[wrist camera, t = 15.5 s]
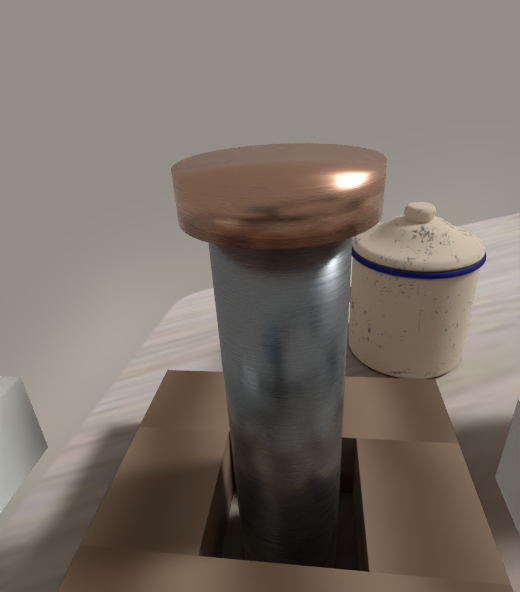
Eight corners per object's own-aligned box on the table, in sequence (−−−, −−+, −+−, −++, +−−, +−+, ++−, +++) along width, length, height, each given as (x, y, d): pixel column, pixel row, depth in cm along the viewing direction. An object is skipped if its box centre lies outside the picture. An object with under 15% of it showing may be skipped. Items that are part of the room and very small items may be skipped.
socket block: (426, 430, 27) (435, 379, 25) (544, 835, 13) (585, 787, 11) (176, 418, 29) (167, 370, 27) (41, 753, 15) (2, 701, 13)
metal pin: (349, 496, 23) (374, 140, 14) (358, 625, 18) (404, 183, 9) (238, 488, 24) (200, 146, 15) (215, 609, 18) (137, 189, 10)
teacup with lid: (486, 346, 34) (519, 201, 29) (425, 402, 29) (452, 238, 23) (361, 298, 42) (368, 177, 37) (296, 334, 37) (294, 201, 32)
